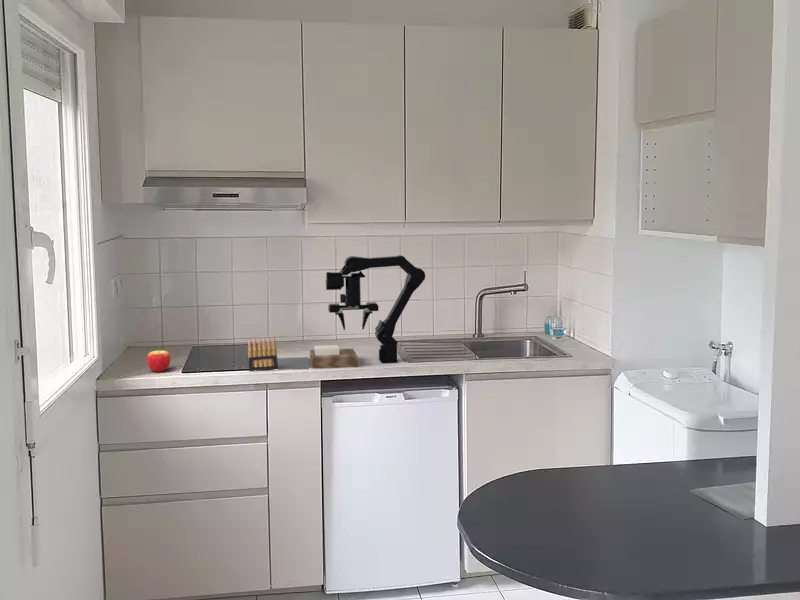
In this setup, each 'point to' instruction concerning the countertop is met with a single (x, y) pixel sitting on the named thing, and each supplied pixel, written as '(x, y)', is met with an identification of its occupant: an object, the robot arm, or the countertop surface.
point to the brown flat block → (335, 359)
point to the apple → (158, 360)
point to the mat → (293, 363)
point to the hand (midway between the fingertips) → (353, 329)
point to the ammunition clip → (262, 355)
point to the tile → (326, 350)
